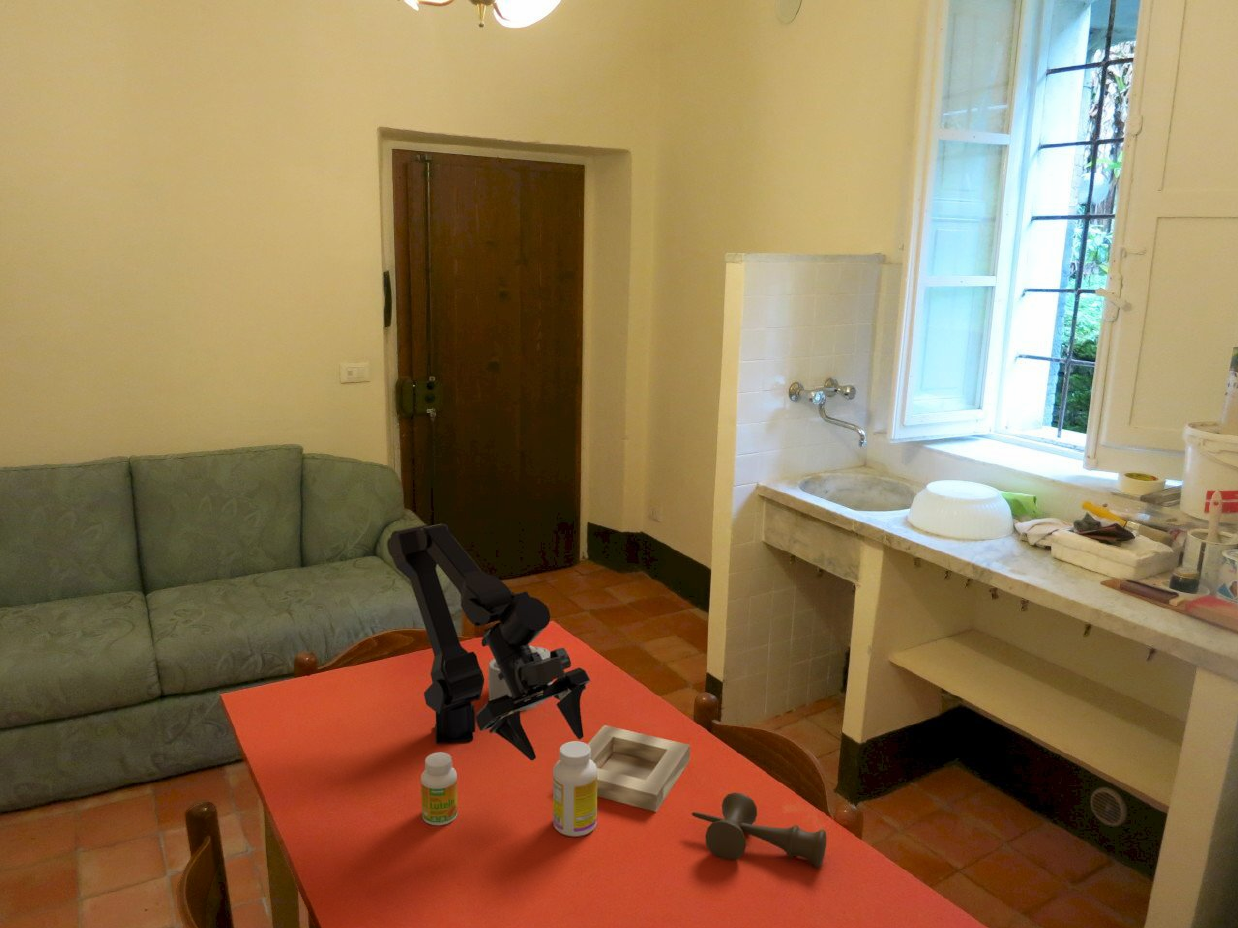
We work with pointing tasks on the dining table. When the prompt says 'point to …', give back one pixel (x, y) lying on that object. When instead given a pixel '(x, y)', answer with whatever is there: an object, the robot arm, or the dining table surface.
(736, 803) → the kendama
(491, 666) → the lumpy-topped squat cylinder
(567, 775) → the supplement bottle
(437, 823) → the supplement bottle
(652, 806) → the birch well block
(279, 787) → the dining table surface
